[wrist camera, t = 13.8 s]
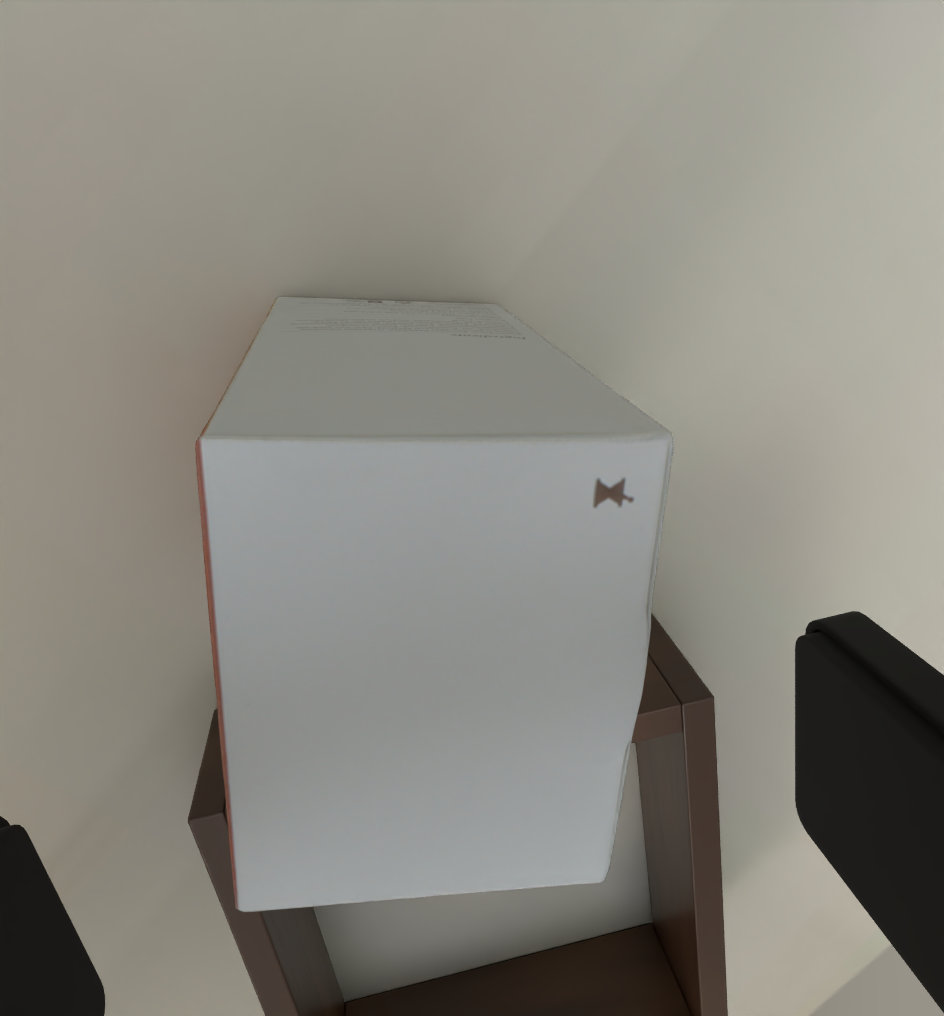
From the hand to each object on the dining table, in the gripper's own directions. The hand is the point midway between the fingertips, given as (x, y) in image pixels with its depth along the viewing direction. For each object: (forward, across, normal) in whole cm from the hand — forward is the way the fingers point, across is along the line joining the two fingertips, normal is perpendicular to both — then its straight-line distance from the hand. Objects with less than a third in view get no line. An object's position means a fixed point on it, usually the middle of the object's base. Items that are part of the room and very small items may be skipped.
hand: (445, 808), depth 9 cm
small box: (+15, 0, 0) cm, 15 cm away
